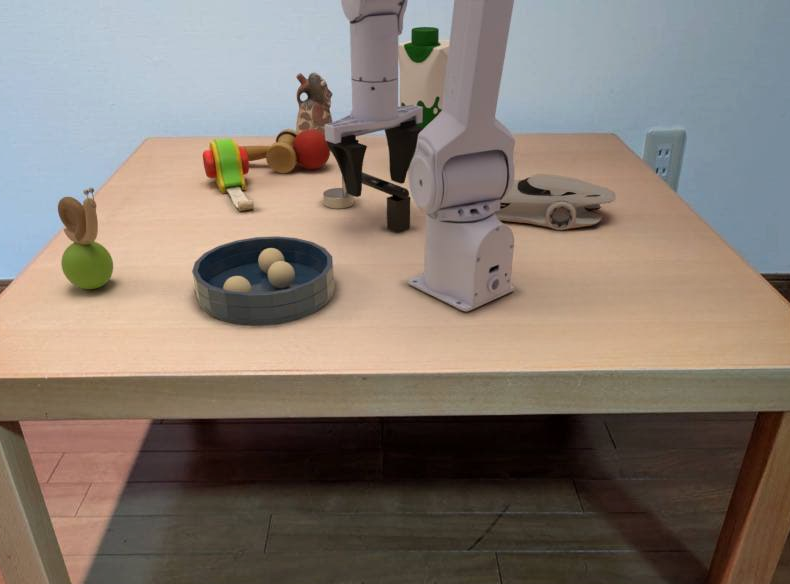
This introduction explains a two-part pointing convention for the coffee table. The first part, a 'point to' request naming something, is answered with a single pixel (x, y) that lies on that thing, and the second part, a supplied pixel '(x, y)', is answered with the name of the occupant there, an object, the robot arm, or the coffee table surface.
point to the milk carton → (423, 72)
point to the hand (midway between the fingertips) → (376, 188)
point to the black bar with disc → (395, 204)
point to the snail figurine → (83, 244)
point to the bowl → (263, 281)
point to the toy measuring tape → (228, 170)
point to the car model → (554, 202)
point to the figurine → (313, 104)
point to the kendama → (292, 150)
